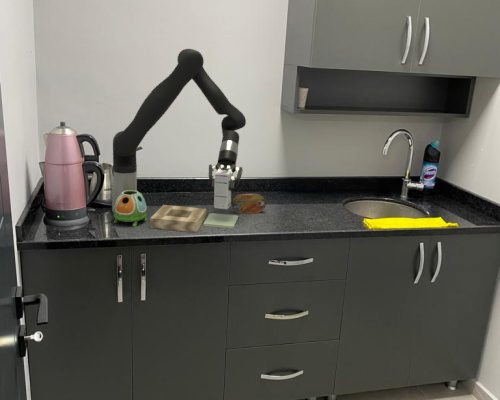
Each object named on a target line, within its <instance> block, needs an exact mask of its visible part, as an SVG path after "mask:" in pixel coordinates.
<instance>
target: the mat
mask: <svg viewBox="0 0 500 400" xmlns="http://www.w3.org/2000/svg"><path fill="white" fill-rule="evenodd" d="M238 219H239V215H234V214H226V213H225V214H224V213H213V212H212V213H211V212H210V213H209V214H208V215H207V216H206V219H205V220H204V222H203V223H202V224H203V227H211V228H212V227H213V228H220V229H231V230H233V229H234V228H235V226H236V224H237V221H239V220H238Z"/></svg>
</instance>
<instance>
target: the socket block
mask: <svg viewBox="0 0 500 400" xmlns="http://www.w3.org/2000/svg"><path fill="white" fill-rule="evenodd" d="M206 219H207V208H203V207H202V208H201V207H193V206H192V207H190V206H180V205H179V206H178V205H170V204H168V205H166V204H162V206H161V207H160V208H159V209H158V210H157V211H156V212H155V213H154V214H153V215H151V216H150V220H149V221H150V222H149V223H150V229H159V230H168V231H178V232H179V231H180V232H188V233H197V232H198V231H199V230H200V228H201V226H202V224H203V223H204V222H205V220H206Z"/></svg>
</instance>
